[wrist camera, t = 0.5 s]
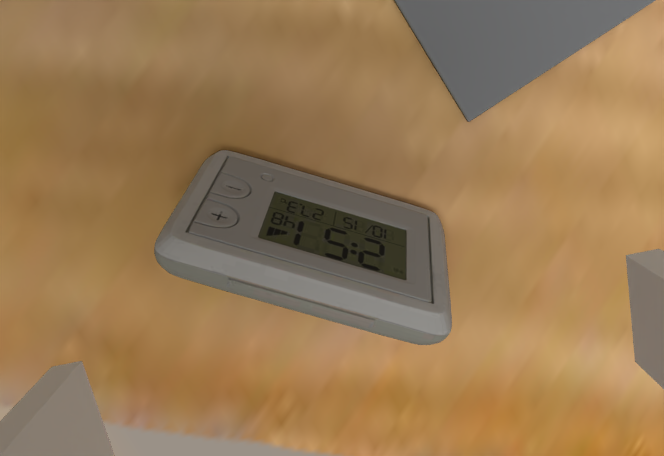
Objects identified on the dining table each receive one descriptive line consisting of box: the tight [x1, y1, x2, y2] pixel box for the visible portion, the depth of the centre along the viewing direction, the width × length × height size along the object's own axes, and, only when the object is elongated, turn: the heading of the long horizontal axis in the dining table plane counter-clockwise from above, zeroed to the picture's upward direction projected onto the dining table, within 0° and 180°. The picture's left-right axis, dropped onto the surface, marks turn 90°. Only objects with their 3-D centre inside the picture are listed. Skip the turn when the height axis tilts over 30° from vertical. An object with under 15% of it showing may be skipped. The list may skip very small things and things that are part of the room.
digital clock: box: [154, 150, 452, 345], centre depth 35 cm, size 16×9×11 cm, turn 62°
